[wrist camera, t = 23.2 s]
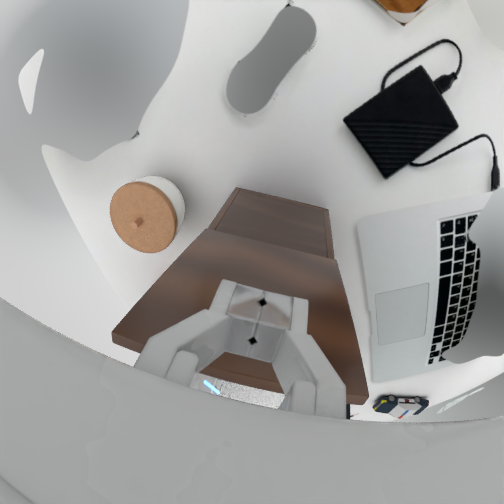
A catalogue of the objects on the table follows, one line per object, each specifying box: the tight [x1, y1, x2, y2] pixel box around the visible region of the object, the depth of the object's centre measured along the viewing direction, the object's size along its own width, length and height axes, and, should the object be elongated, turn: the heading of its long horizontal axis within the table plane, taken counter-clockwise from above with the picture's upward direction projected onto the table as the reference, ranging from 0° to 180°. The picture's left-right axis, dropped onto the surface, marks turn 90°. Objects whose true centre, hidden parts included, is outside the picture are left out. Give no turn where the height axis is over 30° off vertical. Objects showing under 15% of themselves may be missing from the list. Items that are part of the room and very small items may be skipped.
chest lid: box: [112, 229, 369, 405], centre depth 21 cm, size 18×14×1 cm
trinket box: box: [110, 176, 185, 253], centre depth 40 cm, size 11×11×9 cm
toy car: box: [373, 395, 429, 419], centre depth 61 cm, size 5×16×5 cm, turn 81°
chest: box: [208, 188, 335, 260], centre depth 39 cm, size 17×14×13 cm
